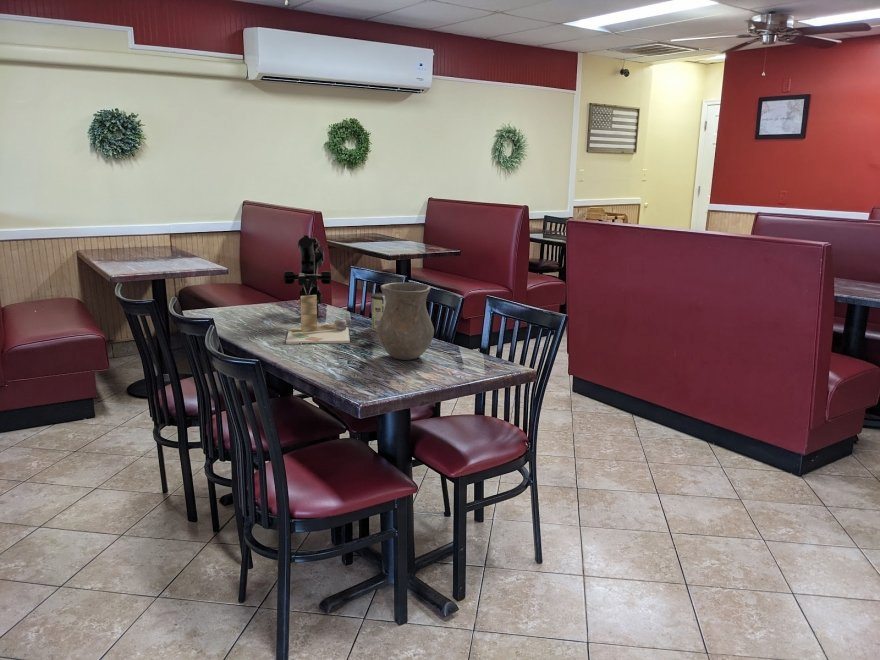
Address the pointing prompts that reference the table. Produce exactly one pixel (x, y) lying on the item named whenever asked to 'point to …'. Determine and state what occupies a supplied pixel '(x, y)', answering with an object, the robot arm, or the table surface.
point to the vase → (405, 320)
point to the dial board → (318, 336)
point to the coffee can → (376, 309)
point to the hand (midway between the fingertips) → (307, 294)
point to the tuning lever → (314, 317)
